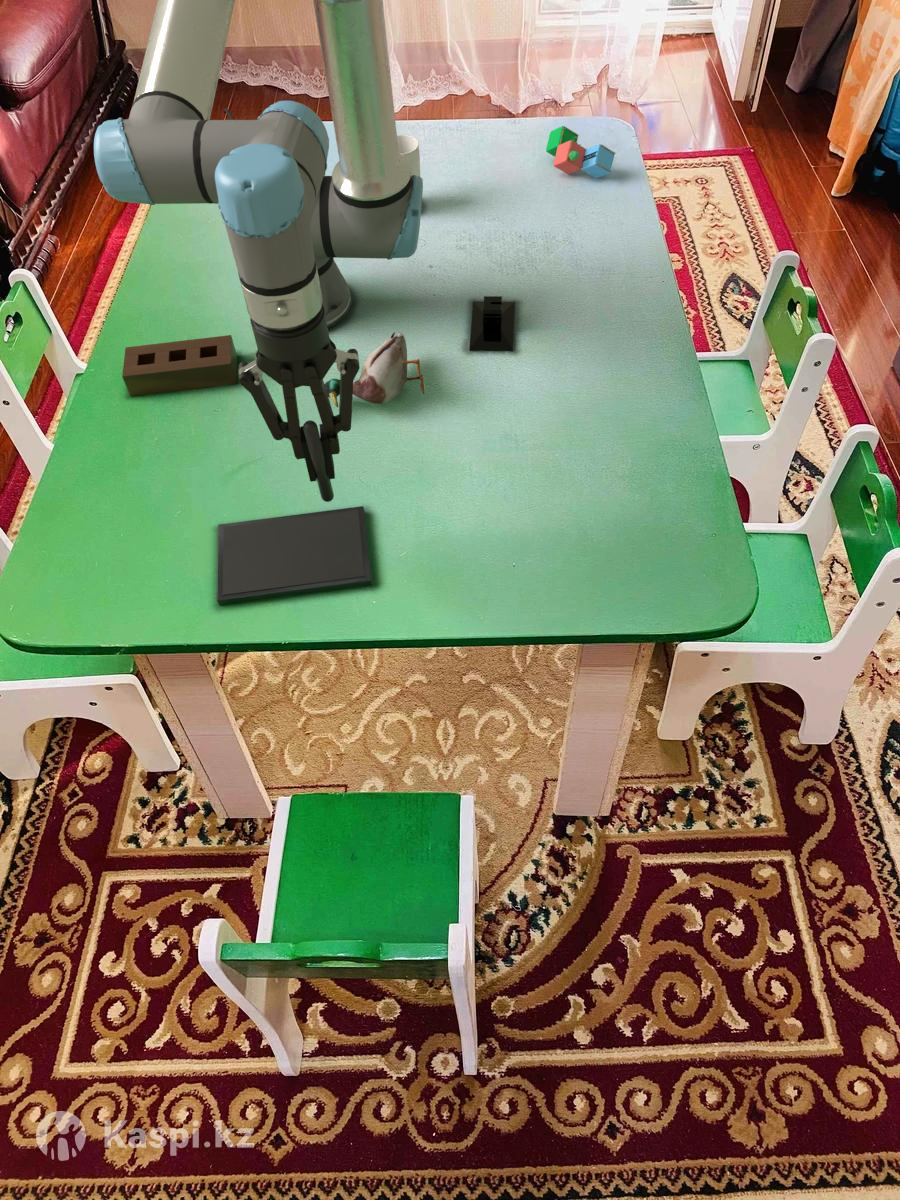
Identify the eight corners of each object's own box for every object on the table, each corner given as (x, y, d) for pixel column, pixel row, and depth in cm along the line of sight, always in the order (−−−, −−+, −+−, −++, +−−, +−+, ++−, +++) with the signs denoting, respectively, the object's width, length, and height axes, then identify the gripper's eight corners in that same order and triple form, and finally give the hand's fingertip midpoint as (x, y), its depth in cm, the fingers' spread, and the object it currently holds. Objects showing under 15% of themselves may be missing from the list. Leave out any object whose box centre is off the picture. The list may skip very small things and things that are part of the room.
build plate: (513, 352, 146) (513, 328, 143) (467, 351, 147) (466, 328, 143) (515, 303, 154) (515, 279, 150) (471, 302, 154) (470, 278, 150)
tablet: (220, 530, 127) (217, 523, 126) (364, 511, 128) (363, 505, 127) (218, 605, 119) (216, 600, 118) (372, 585, 120) (371, 579, 119)
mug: (416, 194, 174) (412, 131, 164) (427, 213, 170) (423, 149, 160) (365, 206, 172) (358, 143, 163) (375, 225, 169) (368, 161, 159)
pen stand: (133, 367, 148) (125, 347, 144) (236, 355, 148) (231, 334, 145) (130, 396, 144) (121, 376, 140) (236, 383, 144) (230, 363, 141)
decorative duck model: (313, 388, 134) (324, 319, 142) (326, 425, 140) (335, 357, 148) (415, 379, 132) (420, 310, 140) (424, 417, 138) (427, 348, 146)
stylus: (321, 494, 116) (301, 418, 102) (334, 492, 116) (315, 416, 102) (322, 505, 116) (302, 429, 102) (335, 503, 116) (317, 428, 102)
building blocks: (570, 188, 182) (611, 173, 171) (539, 170, 177) (578, 154, 167) (580, 149, 181) (621, 132, 171) (548, 130, 177) (589, 111, 167)
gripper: (213, 342, 90) (262, 502, 109) (361, 324, 91) (384, 487, 110) (214, 295, 94) (261, 457, 113) (355, 278, 95) (378, 442, 114)
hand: (322, 471), depth 112 cm, fingers closed on stylus, 1 cm apart
